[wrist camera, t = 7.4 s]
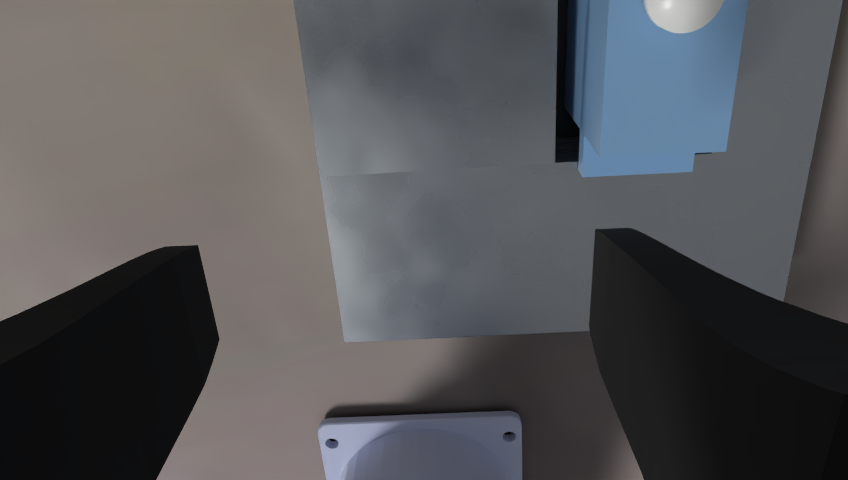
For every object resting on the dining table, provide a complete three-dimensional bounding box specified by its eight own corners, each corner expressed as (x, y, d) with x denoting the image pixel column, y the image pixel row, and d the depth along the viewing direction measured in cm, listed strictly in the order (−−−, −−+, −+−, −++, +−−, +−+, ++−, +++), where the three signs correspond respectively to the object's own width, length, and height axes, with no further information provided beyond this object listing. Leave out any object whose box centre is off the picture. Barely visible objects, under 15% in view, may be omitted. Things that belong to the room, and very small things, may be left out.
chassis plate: (747, 285, 23) (781, 324, 20) (353, 304, 23) (344, 344, 21) (841, -282, 16) (908, -317, 14) (279, -230, 17) (254, -255, 14)
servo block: (658, 138, 21) (727, 205, 16) (563, 143, 21) (601, 211, 16) (684, -128, 17) (781, -150, 12) (571, -120, 17) (623, -138, 13)
